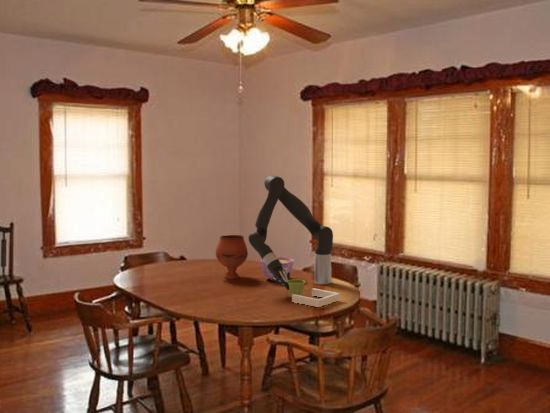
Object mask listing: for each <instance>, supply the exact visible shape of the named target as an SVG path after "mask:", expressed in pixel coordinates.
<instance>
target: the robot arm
mask: <svg viewBox="0 0 550 413" xmlns="http://www.w3.org/2000/svg"><path fill="white" fill-rule="evenodd" d="M263 185H264V187H265V189H266V190H267V191H268V193H267V197H266V199H265V202H264V204H263V205H262V207H260V210H259V212H258V215H257V217H256V221H255V224H254V225H255V226H254V227H256V231H253V232H250V233H249V235H248V242H249V245H250V246H251V247H252V248H253V249H254V250H255V251H256V252H257V253H258V255H259V256H260V259H263V261H264V263H265V265H266V266H267V268H268V269H269V271H270V273H271V274H273V275H274V276H273V278H272V279H273V280H272V281H274V282H276V283H277V284H278V285H283V286H284V287H285V289H286V290H287V291H290V290H289V285H288V282H287V281H288V280H291V274H290V272H288V273H287V272H285V270H284V269H283V265H282V264H281V262H280V261H279V259H278V258H277V257H278V256H277V255H276V254H275V253H274V251H273V250H272V247H271V246H270V245H268V244H266V243H265V242H266V240H267V236H268V235H267V234H268V227H269V224H270V221H271V218H272V216H273V212H274V210H275V207H276V204H277V203H278V201H279V202H280V203H281V204H282V205H283V207H284V208H286V209H287V211H288V212H289V213H290V214H291V215H292V216H293V217H294V218H295V219H296V220H297V221H298V222H299V223H300V224H301V225H303V226H304V227H305V228H306V229H307V231H308V232H309V233H310V234H311V236H312V237H313V238H314V239H315V241H317V247H315V249H314V284H316V285H330V284H331V283H332V264H331V262H332V261H331V260H332V249H333V245H334V244H333V243H334V239H333V238H334V232H333V230H332V228H330V227H329V226H326V225H323V224H321V223H320V222H319V221H317V219H316V218H315V217H314V216H313V213H312V212H311V210H310V208H309V206H307V205H306V204H305V202H304V201H303V200H301V199H300V198H298V197H297V196H296V195H295V194H293V193H291V192H290V191H289V190H288V189H287V188H286V187H285V181H284V179H283V178H282V177H280V176H276V175H270V176H267V177H266V178H265V179H264V184H263ZM329 283H330V284H329Z"/></svg>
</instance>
